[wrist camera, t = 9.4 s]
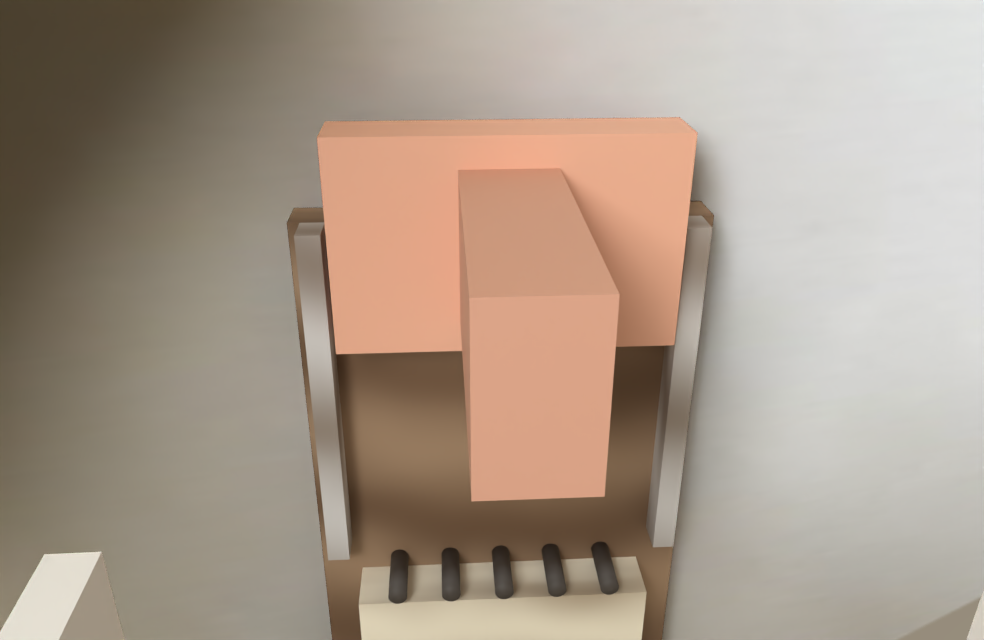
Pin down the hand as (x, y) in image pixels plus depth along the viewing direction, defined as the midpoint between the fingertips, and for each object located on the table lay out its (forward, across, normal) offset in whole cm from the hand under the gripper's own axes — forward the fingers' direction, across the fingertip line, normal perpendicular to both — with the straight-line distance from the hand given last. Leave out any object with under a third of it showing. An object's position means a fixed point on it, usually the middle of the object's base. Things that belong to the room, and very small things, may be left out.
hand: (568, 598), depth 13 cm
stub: (+17, 0, 0) cm, 17 cm away
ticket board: (+18, +1, -12) cm, 22 cm away
